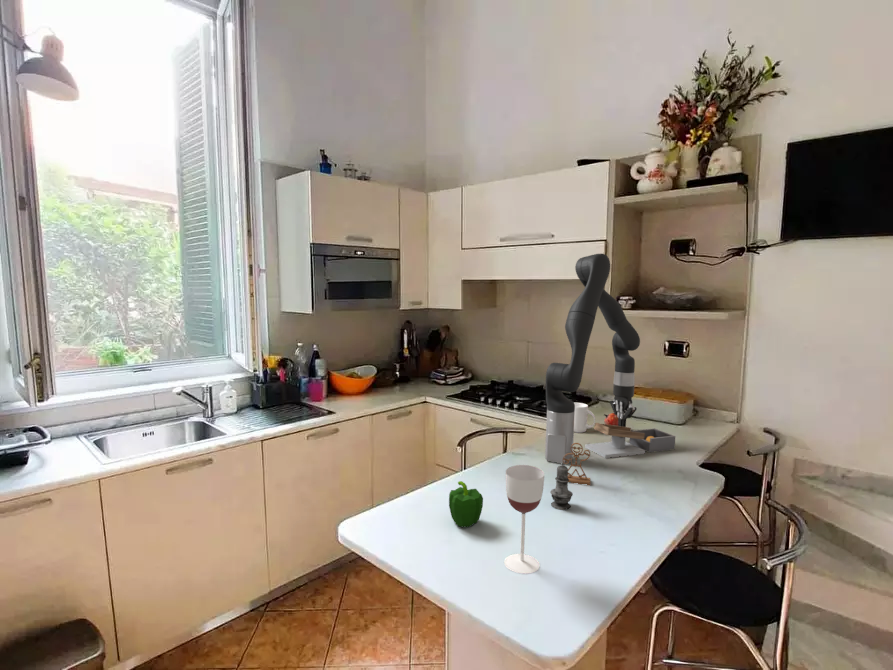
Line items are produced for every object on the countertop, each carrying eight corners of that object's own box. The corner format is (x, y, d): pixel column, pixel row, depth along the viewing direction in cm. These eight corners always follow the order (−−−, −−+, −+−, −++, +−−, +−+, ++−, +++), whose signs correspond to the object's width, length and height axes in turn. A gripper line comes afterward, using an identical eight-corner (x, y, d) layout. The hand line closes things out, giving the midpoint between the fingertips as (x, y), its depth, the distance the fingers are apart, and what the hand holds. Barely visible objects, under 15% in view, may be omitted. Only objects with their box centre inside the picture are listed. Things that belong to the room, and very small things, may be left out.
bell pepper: (487, 528, 119) (488, 489, 118) (454, 532, 116) (455, 492, 115) (475, 513, 127) (476, 476, 126) (444, 517, 124) (445, 479, 123)
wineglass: (498, 570, 101) (501, 476, 99) (508, 549, 109) (511, 462, 107) (536, 578, 98) (540, 483, 96) (544, 556, 106) (547, 468, 105)
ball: (658, 445, 181) (653, 439, 180) (649, 448, 183) (644, 442, 182) (657, 438, 184) (652, 432, 183) (648, 441, 186) (643, 435, 185)
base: (644, 453, 175) (645, 438, 175) (605, 458, 170) (606, 442, 169) (622, 443, 187) (623, 429, 186) (584, 447, 181) (585, 433, 181)
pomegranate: (618, 432, 208) (600, 416, 211) (630, 421, 205) (611, 405, 208) (616, 439, 202) (596, 422, 204) (628, 427, 199) (608, 411, 201)
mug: (591, 435, 196) (592, 409, 195) (562, 430, 202) (563, 405, 201) (597, 430, 203) (598, 405, 202) (569, 425, 210) (570, 401, 209)
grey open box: (674, 449, 181) (675, 436, 180) (649, 452, 177) (650, 438, 176) (653, 440, 191) (654, 428, 190) (629, 443, 187) (630, 430, 186)
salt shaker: (568, 512, 128) (570, 468, 127) (546, 506, 131) (548, 463, 130) (575, 504, 133) (576, 461, 132) (554, 499, 136) (555, 457, 135)
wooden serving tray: (643, 439, 177) (645, 432, 177) (607, 435, 172) (609, 428, 172) (616, 428, 191) (618, 421, 191) (582, 423, 186) (584, 417, 186)
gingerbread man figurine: (559, 481, 148) (561, 443, 147) (560, 477, 152) (562, 439, 151) (590, 485, 146) (592, 446, 145) (590, 480, 150) (592, 442, 149)
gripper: (644, 386, 181) (641, 431, 183) (620, 379, 193) (618, 422, 195) (627, 387, 179) (625, 433, 180) (604, 380, 191) (602, 423, 193)
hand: (621, 427), depth 188 cm, fingers closed
